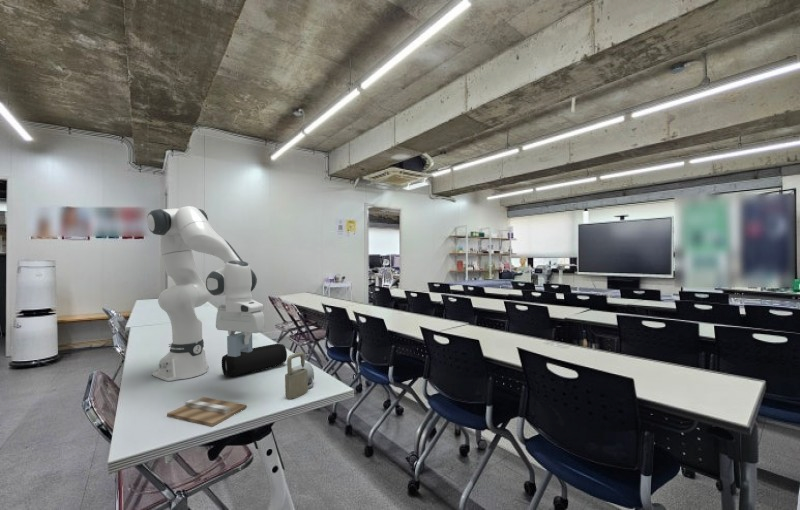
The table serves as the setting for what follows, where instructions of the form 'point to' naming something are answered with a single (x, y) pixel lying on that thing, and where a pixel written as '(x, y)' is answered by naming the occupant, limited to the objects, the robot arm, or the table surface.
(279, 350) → the portable speaker
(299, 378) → the padlock
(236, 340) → the block
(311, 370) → the ceramic mug
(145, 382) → the table surface
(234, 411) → the striped wooden board
